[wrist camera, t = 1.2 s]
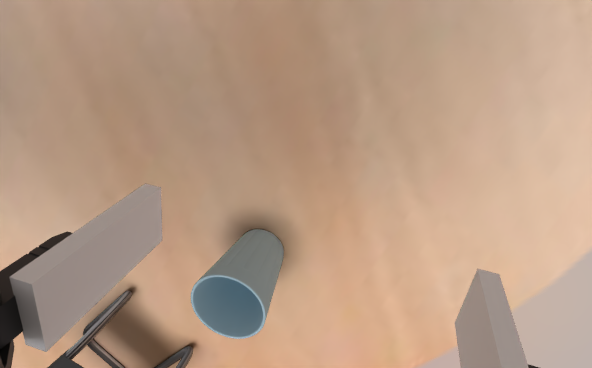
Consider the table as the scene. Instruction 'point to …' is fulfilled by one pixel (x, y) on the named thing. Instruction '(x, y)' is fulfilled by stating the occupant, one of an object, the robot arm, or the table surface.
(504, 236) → the table surface
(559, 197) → the table surface
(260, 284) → the cup
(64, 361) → the chair
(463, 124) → the table surface
